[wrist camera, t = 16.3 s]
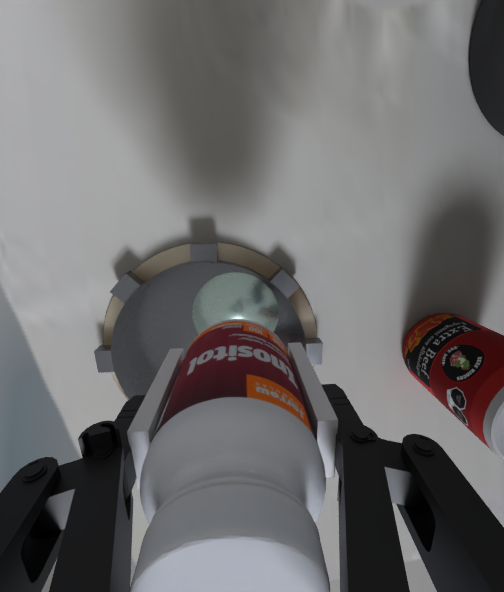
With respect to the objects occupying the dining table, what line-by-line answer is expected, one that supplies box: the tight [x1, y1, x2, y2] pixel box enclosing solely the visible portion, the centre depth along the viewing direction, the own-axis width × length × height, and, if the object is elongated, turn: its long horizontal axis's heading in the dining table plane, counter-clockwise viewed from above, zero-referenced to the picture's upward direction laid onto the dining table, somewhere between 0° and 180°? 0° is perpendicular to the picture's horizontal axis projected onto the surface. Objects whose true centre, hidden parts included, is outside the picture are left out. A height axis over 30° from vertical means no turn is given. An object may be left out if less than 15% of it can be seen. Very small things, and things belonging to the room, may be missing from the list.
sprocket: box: [94, 242, 323, 399], centre depth 24 cm, size 21×21×8 cm
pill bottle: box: [130, 319, 330, 592], centre depth 12 cm, size 6×6×11 cm
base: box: [103, 242, 317, 400], centre depth 28 cm, size 21×21×1 cm
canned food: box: [403, 314, 504, 460], centre depth 24 cm, size 8×8×11 cm
